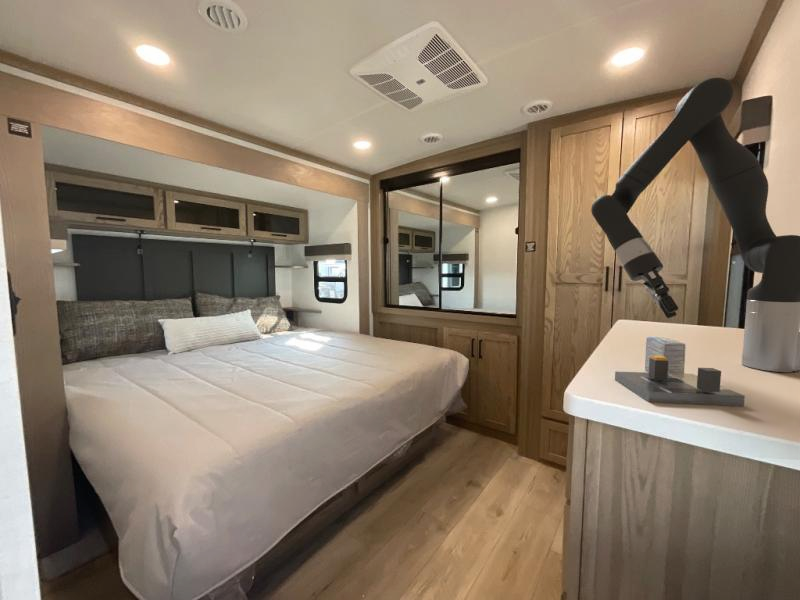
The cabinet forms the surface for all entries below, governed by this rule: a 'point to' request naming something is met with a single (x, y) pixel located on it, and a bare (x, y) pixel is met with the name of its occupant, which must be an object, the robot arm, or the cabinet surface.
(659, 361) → the block
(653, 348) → the light grey block
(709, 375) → the block
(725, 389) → the board
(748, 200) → the robot arm
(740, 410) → the cabinet surface
